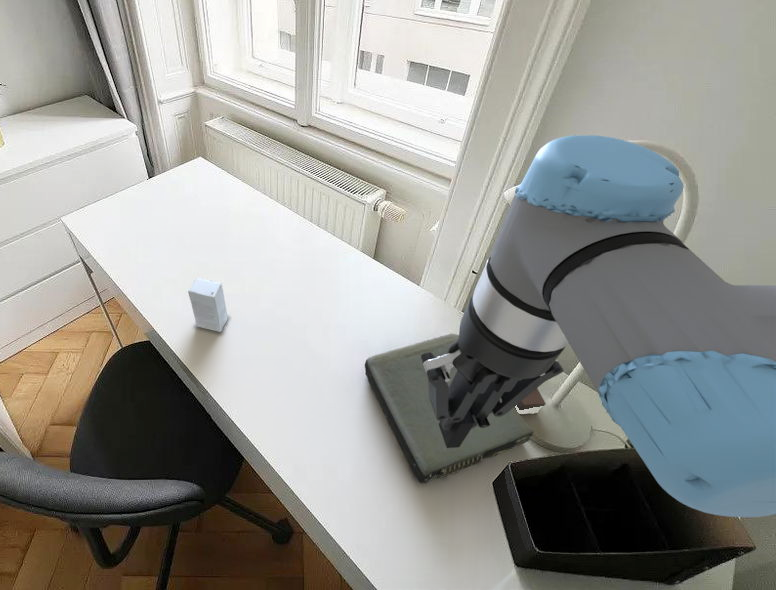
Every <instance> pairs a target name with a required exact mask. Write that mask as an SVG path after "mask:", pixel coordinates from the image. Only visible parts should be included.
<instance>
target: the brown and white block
mask: <svg viewBox="0 0 776 590" xmlns="http://www.w3.org/2000/svg"><path fill="white" fill-rule="evenodd" d="M546 404H547V403H546V401H545V400H544V398H543V396H542V394H541V392H540V391H539V389H538V388H537V389H535V390H534V391H533V392H532V393H530V394H529V395H528V396H527V397H526V398H524V399H523V400H522V401H521V402H520V403H518V404H517V407H518V408H519V410H524V409H529V408H533V407H540V406H544V407H545V406H546ZM514 408H515V407H514ZM515 409H516V408H515Z"/></svg>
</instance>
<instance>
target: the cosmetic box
mask: <svg viewBox="0 0 776 590" xmlns="http://www.w3.org/2000/svg"><path fill="white" fill-rule="evenodd" d="M187 293H188V297H189V300H190V304H191V309H192V313H193V316H194V320H195V324H196V327H198V328H202V329H207V330H209V331H214V332H219V333H222V331H223V329H224V327H225V325H226V322H227V320H228V318H229V317H228V310H227V306H226V300H225V299H226V298H225V295H224V293H225V292H224V289H223V283H222V282H221V281H214V280H210V279H205V278H201V277H195V280H194V281H193V283H192V284H191V286H190V287H189V289H188V290H187Z"/></svg>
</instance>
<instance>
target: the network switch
mask: <svg viewBox="0 0 776 590" xmlns="http://www.w3.org/2000/svg"><path fill="white" fill-rule="evenodd" d="M458 338H459V334H456V333H448V334H444V335H441V336H438V337H434V338H430V339H426V340H423V341H420V342H417V343H413V344H410V345H406V346H402V347H399V348H396V349H392V350H388V351H385V352H382V353H378V354H375V355H372V356H369V357H367V359H366V360H365V362H364V369H365V376H366V378H367V382H368V384H369V385H370V387H371V389H372V391H373V393H374V396H375V397H376V400H377V401H378V404H379V406H380V409H381V410H382V412H383V414H384V415H385V418H386V420H387V422H388V424H389V426H390V429H391V431H392V433H393V434H394V436H395V438H396V440H397V442H398V445H399V447H400V448H401V451H402V453H403V454H404V456H405V459H406V460H407V462H408V464H409V466H410V470H411V472H412V473H413V475H414V476H415V478H416V479H417V481H418V483H420V484H425V483H428V482H430V481H433V480H436V479H437V480H438V479H441V478H443V477H446V476H448V475H452V474H456V473H458V472H460V471H462V470H464V469H466V468H469V467H471V466H474V465H476V464H479V463H481V462H482V460H484V459H488V458H492V457H496V456H498V455H499V454H501V453H505V452H507V451H508V450H511V449H514V448H515V447H518V446H520V445H523V444H525V443H528V442H529V441H530V438H532V437H533V436H534V430H533V429H532V428H531V427H530V426H529V424H528V423H527V422H526V421H525V419H524V417H522V415H520V414H519V413H518V412H517V410H516V409H515V408H514V407H513V408H512V409H511V410H510V411H509V412H507V413H506V414H505V415H503V416H501V417H496V416H494V414H493V413H490V414H489V416H488V417H487V419H488V421H489V423H490V426H488V427H485V428H480V427H479V426H478V424H477V426H476V427H474V428H471V430H470V432H469V433H468V435H467V436H466V438H465V439H464V441H463V442H462V444H461V445H460V447H457V448H447V447H446V444H445V441H444V439H443V436H442V433H441V430H440V427H439V423H440V421H439V420H437V419H436V416H435V413H434V410H433V407H432V404H431V401H430V398H429V388H428V376H427V374H426V371H425V368H424V365H423V362H422V359H421V355H422V354H424V353H428V352H430V353H432V354H433V355H434V356H435V357H437V356H443V355H445V354H448V349H449V347H450V345H451V344H453V343H454V342H455V341H456V340H457V339H458ZM456 372H457V369H456V368H455V367H454V368H452V369H451V373H450V374H449V377H450V379H451V380H450V381H449V382H447V384H448V387H449V386H450V384H451V382H452V380H453V378H454V376H455V374H456ZM500 401H501V402H502V399H501V398H500Z"/></svg>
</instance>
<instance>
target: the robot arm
mask: <svg viewBox="0 0 776 590" xmlns="http://www.w3.org/2000/svg"><path fill="white" fill-rule="evenodd" d="M684 188H685V186H684V182H683V180H682V179H681V177H680V170H679V169H678V168H677V166H676V165H675V164H674V163H673V162H671V161H670V160H669V159H667V158H666V157H665V156H662V155H661V154H659V153H658V152H656V151H654V150H651V149H650V148H647V147H645V146H642V145H640V144H637V143H635V142H631V141H628V140H624V139H620V138H616V137H610V136H604V135H595V134H594V135H593V134H587V135H585V134H583V135H582V134H581V135H576V134H573V135H566V136H561V137H558V138H556V139H553V140H551V141H549V142H547V143H546V144H545V145H543V146H542V147H541V148H539V150H538V152H537V153H536V154H535V156H534V158H533V160H532V162H531V164H530V166H529V168H528V170H527V171H526V174H525V176H524V177H523V179H522V181H521V183H520V184H518V185H517V186H516V187H515V190H514V196H513V198H512V201H511V203H510V206H509V208H508V211H507V213H506V215H505V217H504V220H503V223H502V225H501V227H500V230H499V232H498V234H497V237H496V239H495V242H494V243H493V247H492V249H491V251H490V253H489V258H488V259H487V260H486V263H485V266H484V268H483V270H482V272H481V274H480V277H479V278H478V281H477V283H476V285H475V288H474V291H473V294H472V295H471V297H470V299H469V300H468V304H467V305H466V308H465V310H464V312H463V315H462V317H461V319H460V323H459V330H458V335H459V338H458V339H457V340H456V341H455V342H454V343H453V344H451V345H450V347H449V349H448V354H445V355H443V356H437V357H435V356H434V355H433V354H432V353H430V352H428V353H424V354H422V355H421V359H422V362H423V365H424V368H425V371H426V374H427V376H428V388H429V398H430V401H431V404H432V407H433V410H434V413H435V416H436V419H437V420H439V421H440V423H439V427H440V430H441V433H442V436H443V439H444V441H445V444H446V447H447V448H457V447H460V445H461V444H462V442H463V441H464V439H465V438H466V436H467V435H468V433H469V432H470V430H471V428H474V427H476V426H477V424H478V426H479V427H480V428H485V427H488V426H490V423H489V421H488V419H487V417H488V416H489V414H490V413H493V414H494V416H496V417H501V416H503V415H505V414H506V413H507V412H509V411H510V410H511V409H512V408H513V407H515V406H516V405H517V404H518V403H520V402H521V401H522V400H523V399H524V398H526V397H527V396H528V395H529V394H530V393H532V392H533V391H534V390H535V389H538V388H539V387H540V386H542V385H543V384H544V383H545V382H547V381H549V380H551V379H553V378H555V377H557V376H559V375H560V374H562V373H564V370H565V369H564V368H563V366H562V365H561V363H560V362H559V360H558V358H559V357H560V356H561V354H562V353H563V352H564V350H565V349H566V347H567V346H568V345H569V346H570V348H571V349H572V351H573V353H574V355H575V356H576V358H577V360H578V361H579V364H580V365H581V366H582V368H583V370H584V371H585V373H586V375H587V377H588V378H589V381H590V382H591V384H592V385H593V387H594V389H595V391H596V392H597V394H598V397H599V399H600V401H601V405H602V407H603V409H604V410H605V411H606V413H607V414H608V415H609V417H610V418H611V420H612V421H613V422H614V423H615V425H617V426H618V427H620V428H621V430H622V431H623V433H624V434H625V436H626V437H627V439H628V441H629V442H630V443H631V445H632V447H633V448H634V449H635V451H636V452H637V454H638V456H639V458H641V460H642V461H643V463H644V464H645V466H646V468H647V469H648V471H649V472H650V473H651V475H652V476H653V478H654V480H655V481H656V482H657V484H658V485H659V486H660V487H661V489H663V490H664V491H665V492H666V493H667V494H668V495H669V496H671V497H672V498H673V499H675V500H676V501H678V502H679V503H681V504H682V505H685V506H686V507H689V508H691V509H693V510H696V511H699V512H702V513H705V514H709V515H715V516H720V517H730V518H763V517H769V516H772V515H773V516H775V515H776V285H771V284H770V285H768V284H767V285H765V284H764V285H763V284H761V285H760V284H740V285H737V284H731V283H729V282H727V281H726V280H724V279H723V278H722V277H720V275H718V274H717V273H716V272H715V271H714V270H713V269H712V268H711V267H710V266H709V265H707V263H705V261H703V260H702V259H701V258H700V257H699V256H698V255H696V254H695V252H693V251H692V250H691V249H690V248H689V247H688V246H686V245H685V244H684V242H683V241H682V240H681V239H680V238H679V237H678V236H677V235H676V234H675V233H673V232H672V231H671V230H670V229H668V227H667V226H666V225H665V224H664V222H665V221H664V220H666V219H668V217H671V216H672V215H671V214H673V213H675V211H676V210H675V205H676V203H677V202H678V200H679V199H680V198H681V195H682V193H683V191H684ZM454 367H455V368H456V369H457V372H456V374H455V376H454V378H453V380H452V382H451V384H450V386H449V387H448V384H447V382H449V381H450V380H451V379H450V377H449V374H450V373H451V369H452V368H454ZM500 398H501V399H502V402H501V401H500Z"/></svg>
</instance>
